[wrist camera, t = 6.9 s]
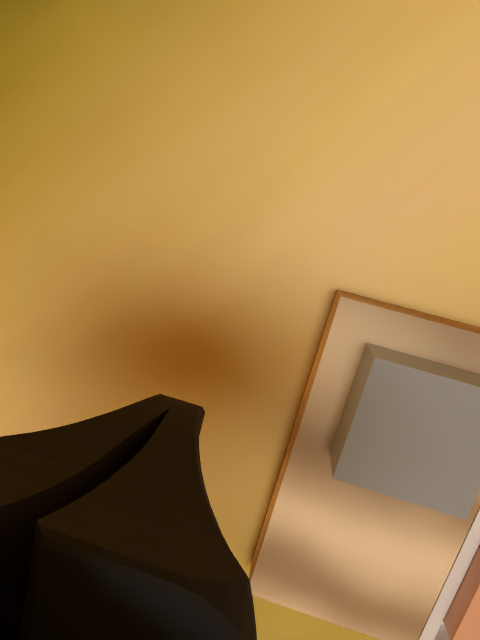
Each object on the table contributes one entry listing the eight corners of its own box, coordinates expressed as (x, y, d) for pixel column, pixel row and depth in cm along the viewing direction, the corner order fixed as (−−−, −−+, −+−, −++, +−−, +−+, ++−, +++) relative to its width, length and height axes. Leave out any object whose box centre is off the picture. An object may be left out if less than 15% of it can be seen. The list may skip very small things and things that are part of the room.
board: (402, 611, 21) (412, 650, 19) (252, 560, 21) (246, 593, 19) (522, 339, 17) (550, 353, 15) (336, 289, 18) (340, 296, 16)
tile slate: (446, 487, 17) (465, 520, 15) (329, 450, 17) (332, 478, 15) (494, 378, 16) (521, 398, 14) (366, 342, 16) (375, 357, 14)
